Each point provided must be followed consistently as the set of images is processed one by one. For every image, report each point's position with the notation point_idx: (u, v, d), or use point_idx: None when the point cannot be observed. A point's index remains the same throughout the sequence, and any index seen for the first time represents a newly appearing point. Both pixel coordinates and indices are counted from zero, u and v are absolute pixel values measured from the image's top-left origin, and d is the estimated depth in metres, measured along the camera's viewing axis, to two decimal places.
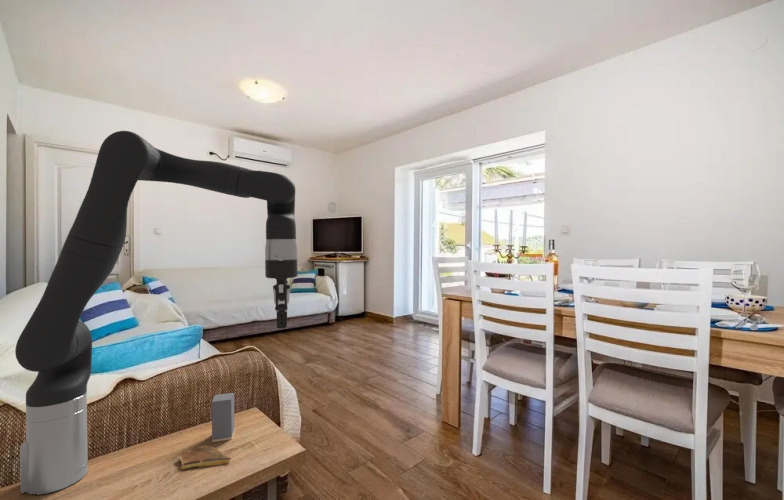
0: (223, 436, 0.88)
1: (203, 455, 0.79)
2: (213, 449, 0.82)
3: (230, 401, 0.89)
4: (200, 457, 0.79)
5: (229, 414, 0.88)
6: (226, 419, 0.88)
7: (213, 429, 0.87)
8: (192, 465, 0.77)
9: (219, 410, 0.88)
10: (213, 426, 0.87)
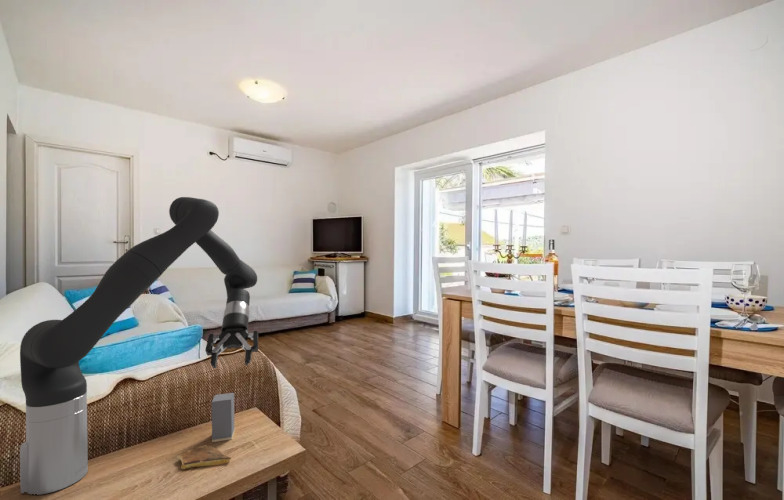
0: (223, 436, 0.88)
1: (203, 455, 0.79)
2: (213, 449, 0.82)
3: (230, 401, 0.89)
4: (200, 456, 0.79)
5: (229, 414, 0.88)
6: (226, 419, 0.88)
7: (213, 429, 0.87)
8: (192, 465, 0.77)
9: (219, 410, 0.88)
10: (213, 426, 0.87)
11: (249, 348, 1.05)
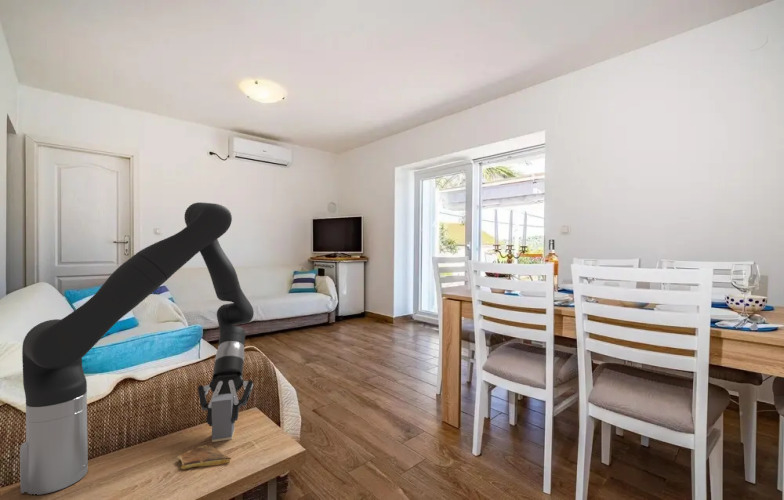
0: (223, 436, 0.88)
1: (204, 455, 0.79)
2: (213, 449, 0.82)
3: (230, 401, 0.89)
4: (200, 456, 0.79)
5: (229, 414, 0.88)
6: (226, 419, 0.88)
7: (213, 429, 0.87)
8: (192, 465, 0.77)
9: (218, 410, 0.88)
10: (213, 426, 0.87)
11: (236, 403, 0.91)
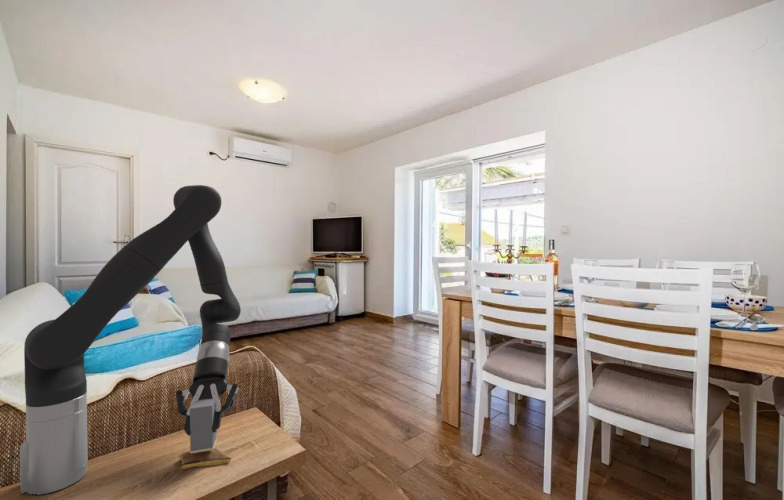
0: (203, 446, 0.79)
1: (204, 455, 0.79)
2: (213, 449, 0.82)
3: (211, 407, 0.80)
4: (201, 456, 0.79)
5: (209, 422, 0.79)
6: (207, 428, 0.79)
7: (192, 439, 0.78)
8: (192, 465, 0.77)
9: (198, 417, 0.79)
10: (192, 436, 0.78)
11: (218, 409, 0.82)
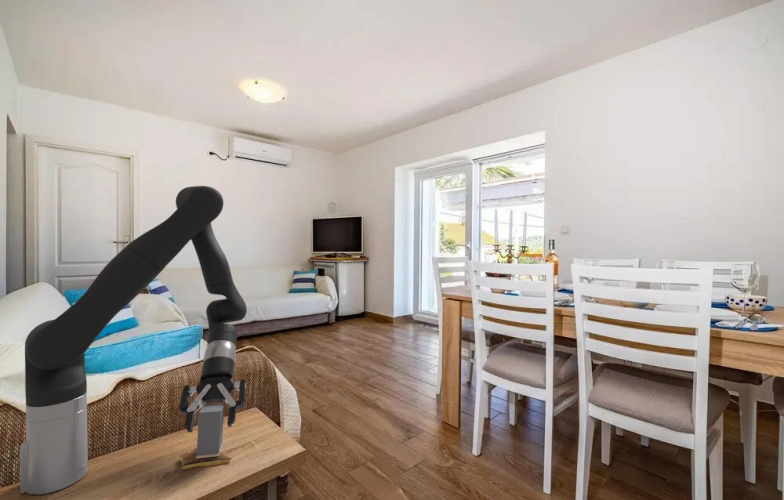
0: (209, 452, 0.79)
1: None
2: None
3: (220, 413, 0.80)
4: None
5: (217, 427, 0.79)
6: (214, 433, 0.79)
7: (198, 444, 0.78)
8: (193, 465, 0.77)
9: (206, 422, 0.79)
10: (199, 440, 0.78)
11: (233, 404, 0.83)
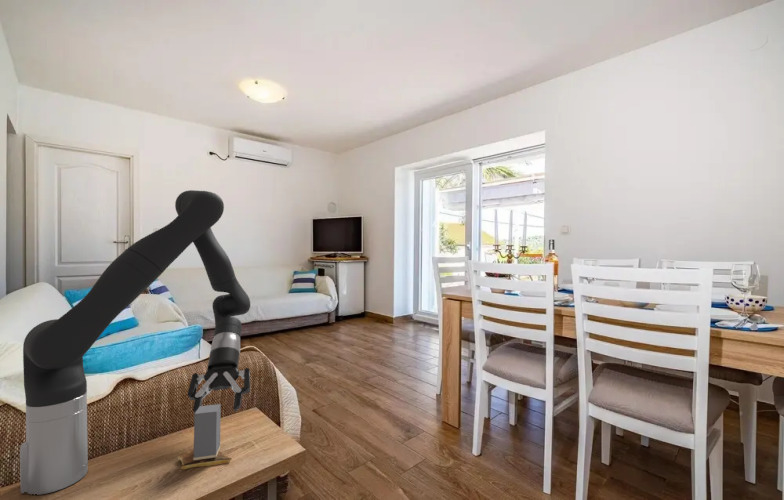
0: (206, 453, 0.78)
1: None
2: None
3: (215, 413, 0.79)
4: None
5: (213, 428, 0.79)
6: (211, 434, 0.79)
7: (195, 445, 0.78)
8: (193, 465, 0.77)
9: (202, 423, 0.78)
10: (195, 442, 0.78)
11: (239, 390, 0.90)
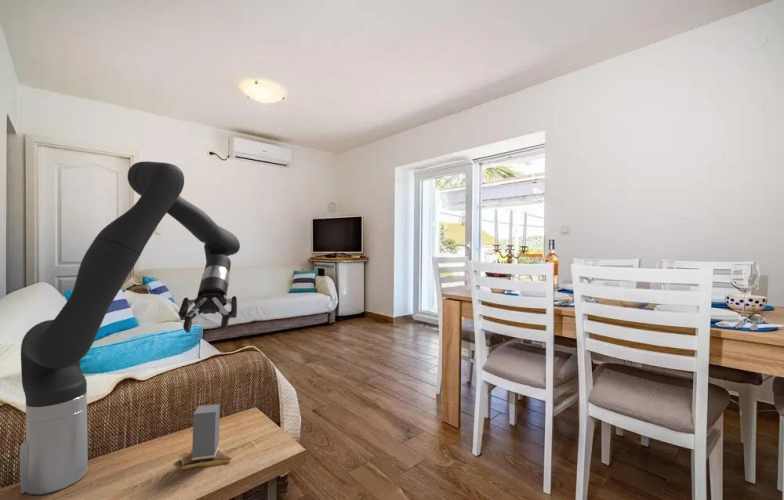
0: (204, 453, 0.78)
1: None
2: None
3: (214, 414, 0.79)
4: None
5: (212, 429, 0.79)
6: (209, 434, 0.78)
7: (194, 445, 0.78)
8: (193, 465, 0.77)
9: (201, 423, 0.78)
10: (194, 442, 0.78)
11: (226, 313, 0.97)
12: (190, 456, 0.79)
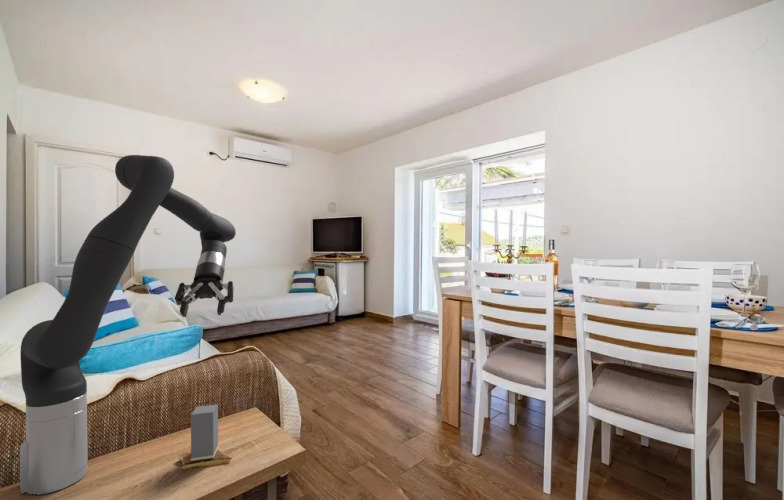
0: (203, 454, 0.78)
1: None
2: None
3: (212, 414, 0.79)
4: None
5: (210, 429, 0.78)
6: (208, 435, 0.78)
7: (192, 446, 0.77)
8: (193, 465, 0.77)
9: (199, 424, 0.78)
10: (192, 442, 0.77)
11: (222, 298, 0.97)
12: (190, 456, 0.79)
